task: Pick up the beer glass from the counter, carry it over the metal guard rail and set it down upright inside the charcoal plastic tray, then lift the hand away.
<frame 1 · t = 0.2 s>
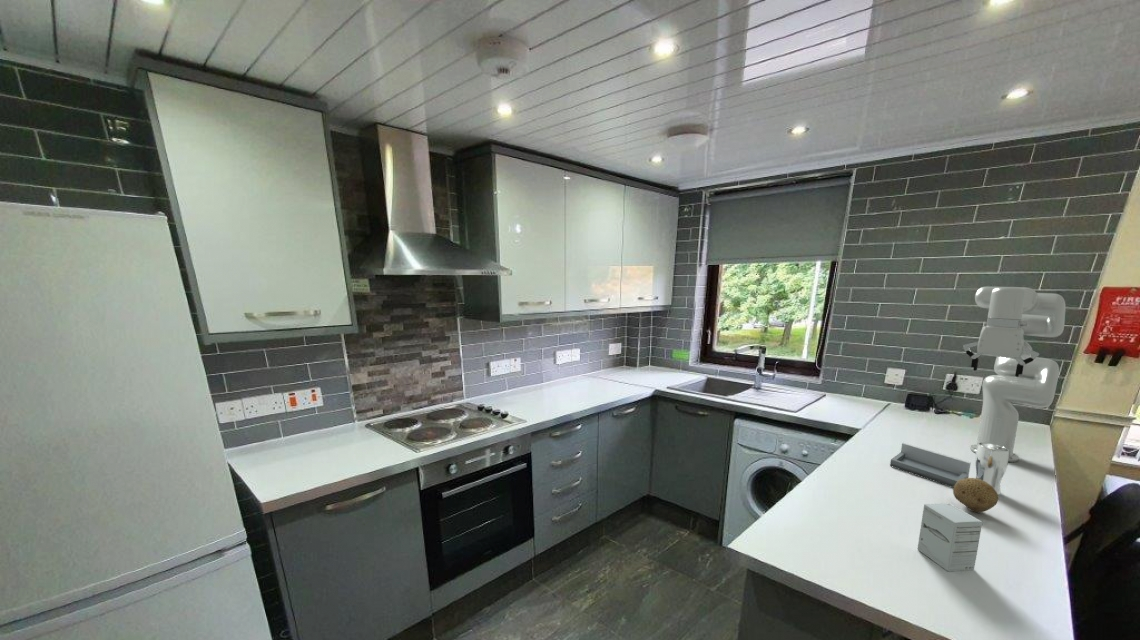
hand: (995, 373, 130), 36 cm above the counter, tool pointing down, fingers open, 9 cm apart
beer glass: (986, 491, 123), on the counter
supplement box: (944, 560, 92), on the counter
natural sponge: (971, 511, 111), on the counter
guarded tray: (927, 472, 133), on the counter
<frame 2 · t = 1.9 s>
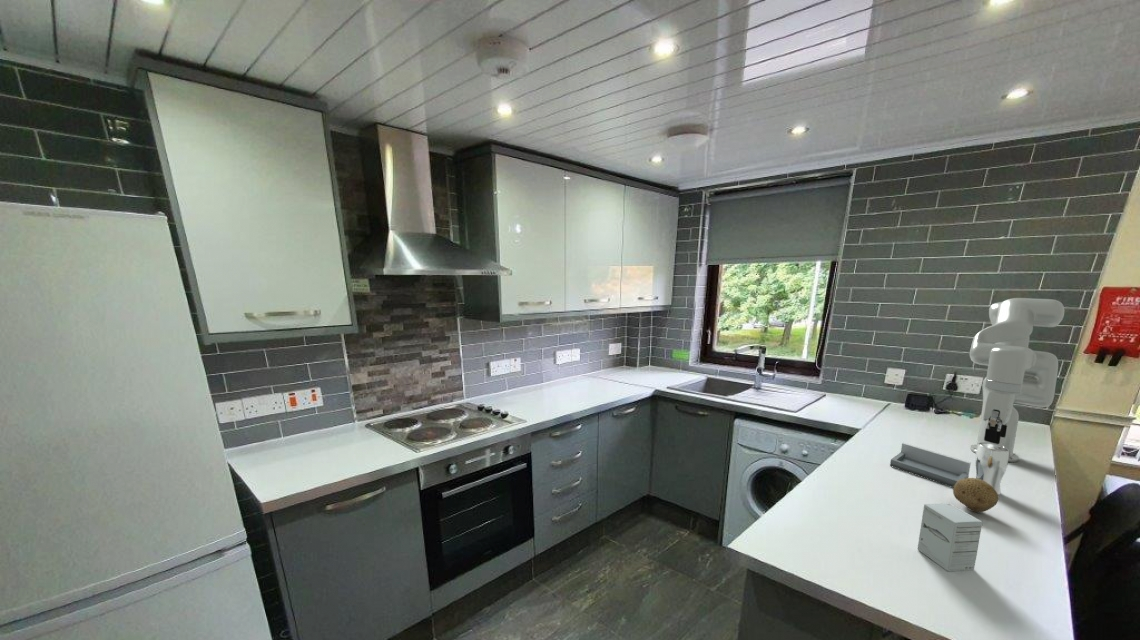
hand: (994, 439, 120), 18 cm above the counter, tool pointing down, fingers open, 9 cm apart
nothing on the counter moved.
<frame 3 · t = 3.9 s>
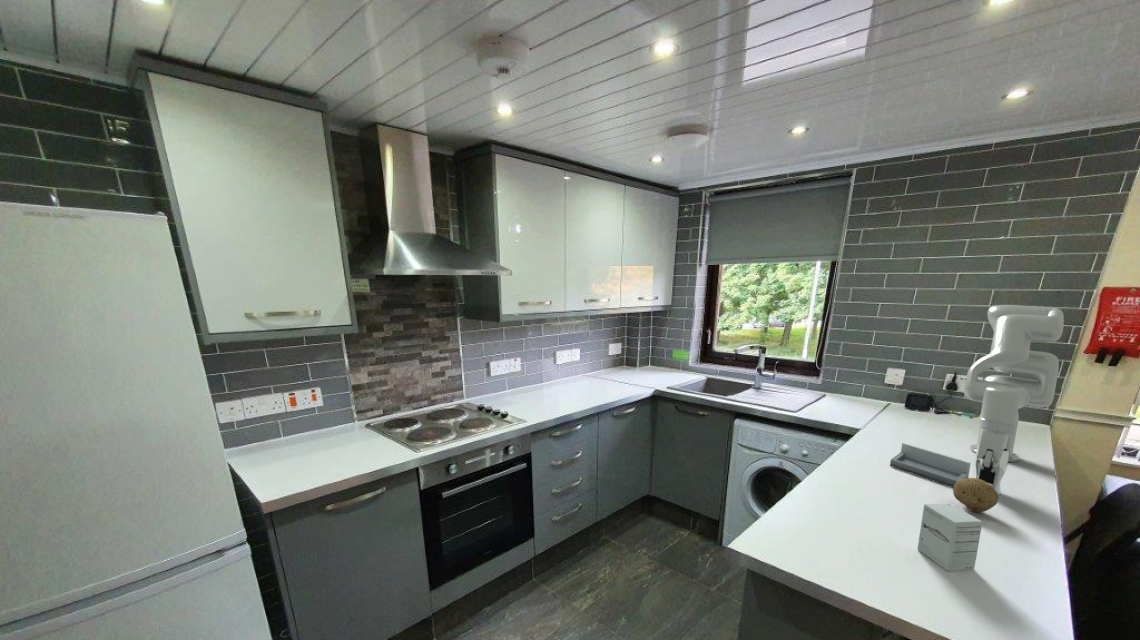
hand: (988, 478, 122), 4 cm above the counter, tool pointing down, fingers closed on beer glass, 6 cm apart
beer glass: (986, 490, 122), on the counter, touching gripper
everything else where it was.
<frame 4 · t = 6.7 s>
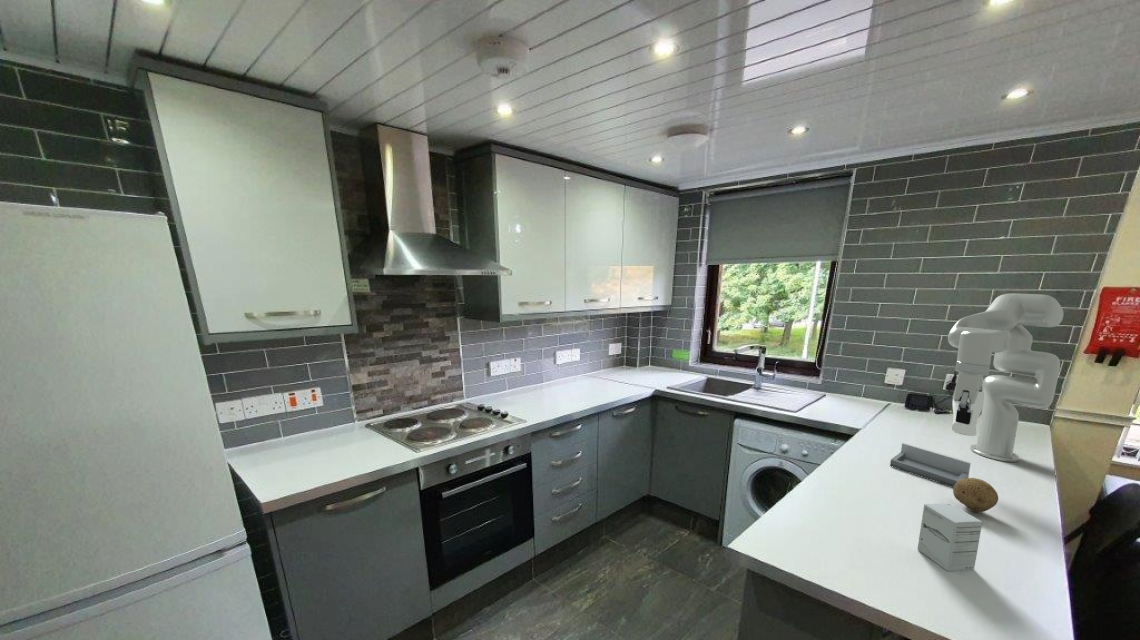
hand: (964, 420, 126), 21 cm above the counter, tool pointing down, fingers closed on beer glass, 6 cm apart
beer glass: (962, 432, 126), point 17 cm above the counter, touching gripper
everything else where it was.
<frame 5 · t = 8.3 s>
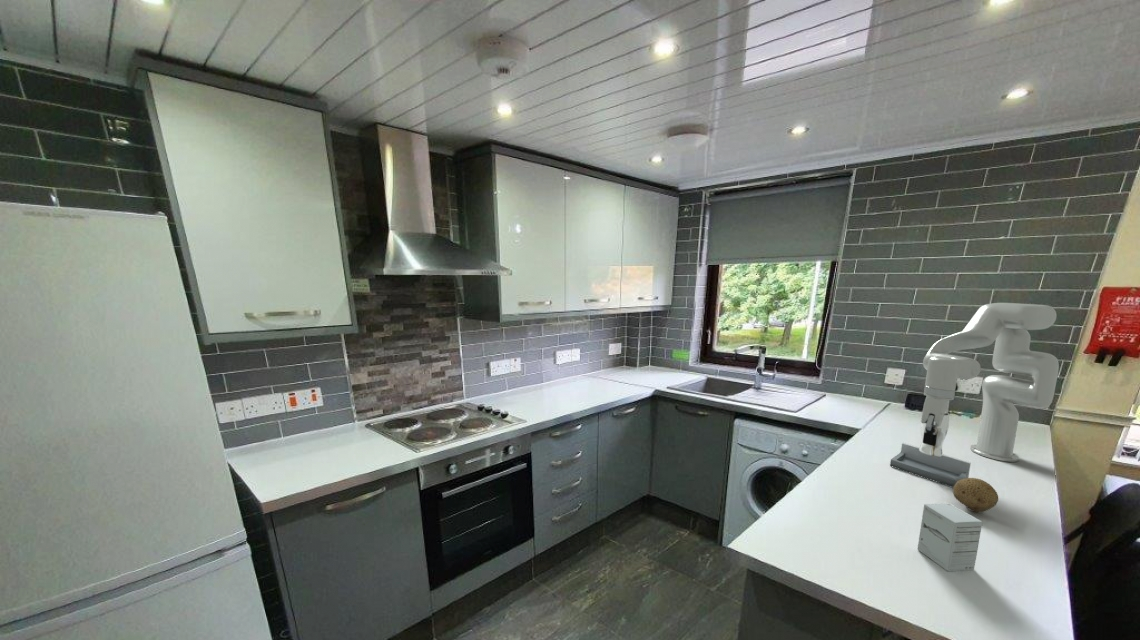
hand: (931, 441, 132), 11 cm above the counter, tool pointing down, fingers closed on beer glass, 6 cm apart
beer glass: (930, 453, 133), point 7 cm above the counter, touching gripper
everything else where it was.
when the fingers open (6 cm above the counter, at t = 9.7 s): beer glass drops 1 cm, resting on guarded tray.
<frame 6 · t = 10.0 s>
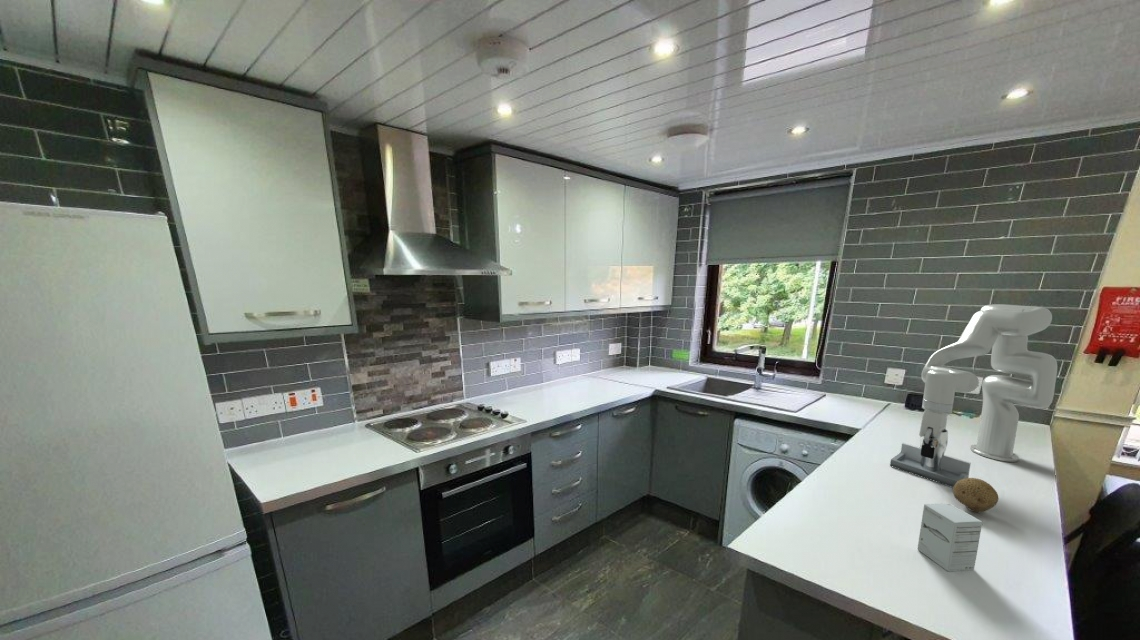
hand: (930, 453, 133), 7 cm above the counter, tool pointing down, fingers open, 8 cm apart
beer glass: (930, 469, 134), point 1 cm above the counter, touching gripper, guarded tray
everything else where it was.
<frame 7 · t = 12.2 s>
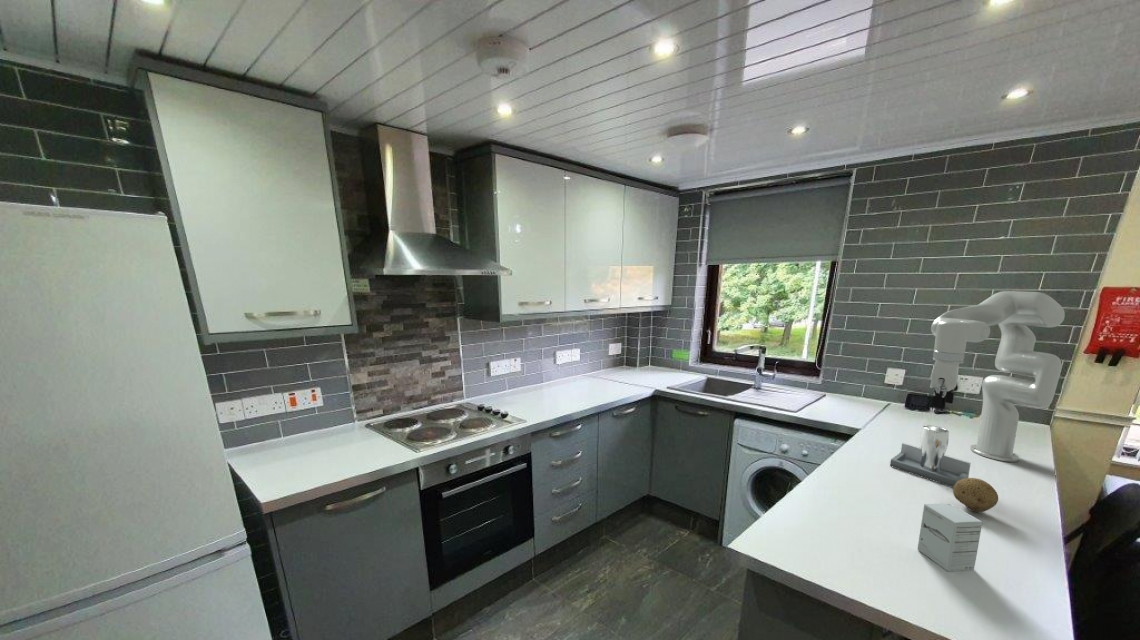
hand: (942, 405, 131), 25 cm above the counter, tool pointing down, fingers open, 9 cm apart
beer glass: (930, 469, 134), point 1 cm above the counter, touching guarded tray
everything else where it was.
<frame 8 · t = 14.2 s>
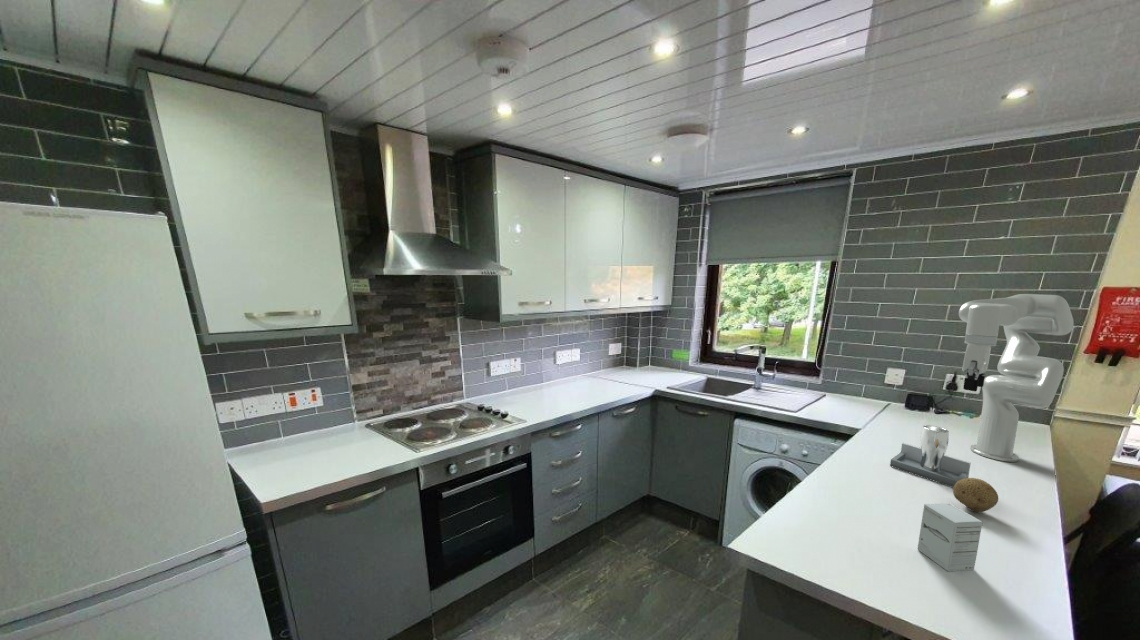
hand: (973, 388, 132), 30 cm above the counter, tool pointing down, fingers open, 9 cm apart
nothing on the counter moved.
at the end: beer glass inside the target area on the guarded tray (1.1 cm from its centre), point 0.8 cm above the guarded tray's base; beer glass tilted 0°; the gripper is holding nothing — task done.
